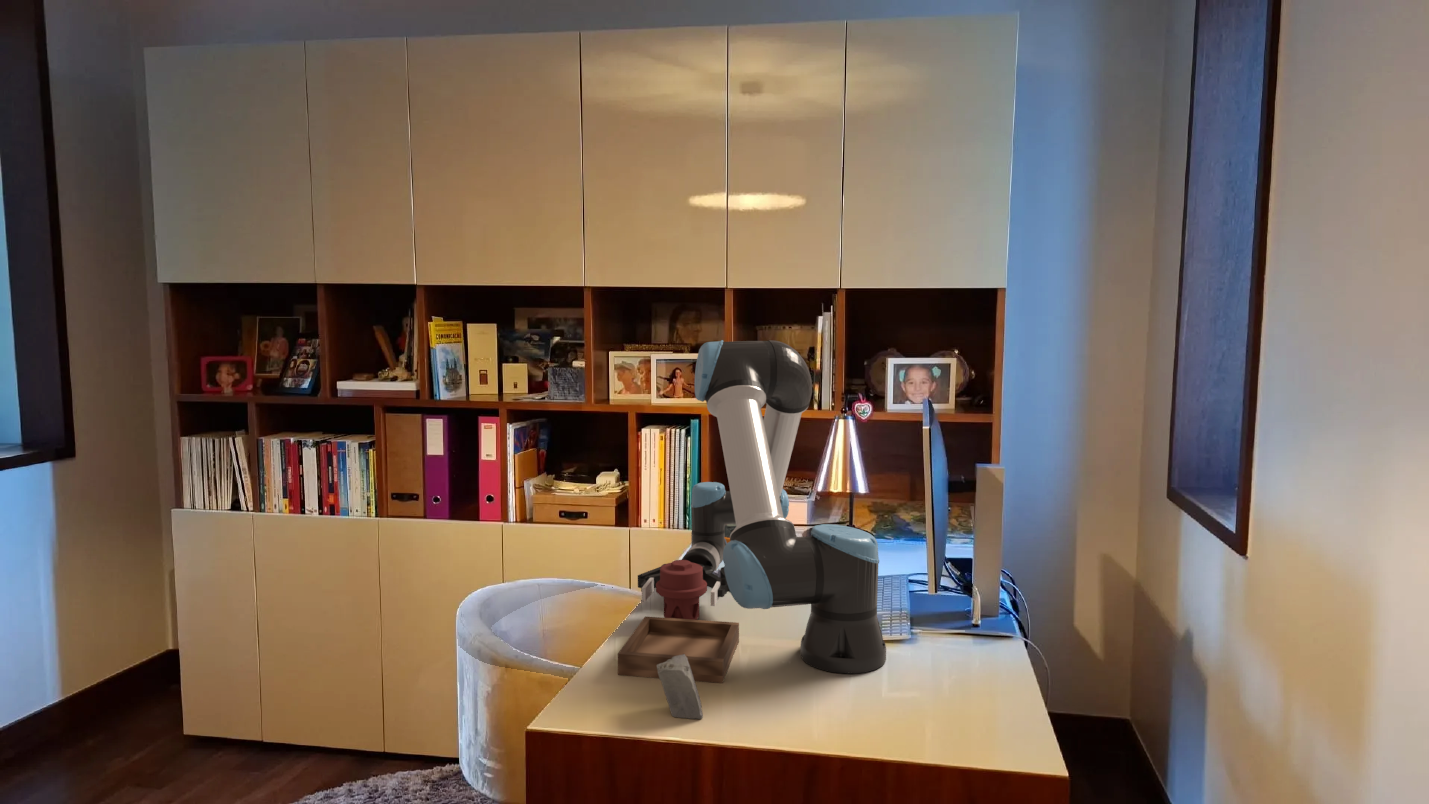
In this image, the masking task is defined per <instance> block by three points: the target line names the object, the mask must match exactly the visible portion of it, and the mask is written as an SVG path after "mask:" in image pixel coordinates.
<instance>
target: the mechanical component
mask: <svg viewBox="0 0 1429 804" xmlns="http://www.w3.org/2000/svg"><path fill="white" fill-rule="evenodd" d="M664 564H665V565H663V564H662V565H663V566H662V565H661V566H660V567H661V568H660V580H659V581H658V582H657V583H656V588H655V592H656V593H657V594H658V596H661V597H662V598H663V618H676V619H691V620H699V617H700V597H701V596H704V595H705V594H706V593H707V592H708V586H707V583H706V581H705V580H703V567H702V566H701V565H699V564H696V563H692V562H690V561H688V560H682V559H677V560H676V559H675V560H674V561H671V562H668V563H664Z"/></svg>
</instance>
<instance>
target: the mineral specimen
mask: <svg viewBox="0 0 1429 804" xmlns="http://www.w3.org/2000/svg"><path fill="white" fill-rule="evenodd" d="M657 670H658V675H659V678H658V679H659V680H660V682H661V685H662V688H663V691H664V695H665V697H666V701H667V703H668V704H667V705H668V708H669V711H670V714H671V716H672V717H673V718H678V719H679V718H681V719H691V720H692V719H693V720H701V719H703V717H704V716H703V710H702V708H703V706H702V702H701V697H700V695H699V690H698V688H697V684H696V681H695V680H694V677H693V674H692V670H691V667H690V665H689V662H688V659H687V657H686V656H685V654H683V655H678V656H674V657H672V658H671V659H668V660H667V661H666V662H663V663H660V664H658V665H657Z"/></svg>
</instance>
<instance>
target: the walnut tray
mask: <svg viewBox="0 0 1429 804" xmlns="http://www.w3.org/2000/svg"><path fill="white" fill-rule="evenodd" d="M739 643H740V622H735V621H734V622H733V621H717V620H706V619H705V620H703V619H698V620H691V619H676V618H665V617H658V616H644V617H643V619H642V620H641V621H640V622H639V624H638V625H637V626H636V628H635V629H634V631H633V632H632V634H631V635H630V636H629V638H628V639H627V641H626V642H625V643H624V645H622V647H621V649H620V650H619V652H618V653H617V675H618V676H627V677H640V678H641V677H642V678H651V679H653V678H654V679H659V675H658V670H657V665H658V664H660V663H663V662H666V661H667V660H668V659H671V658H672V657H674V656H678V655H683V654H685V656H686V657H687V659H688V662H689V665H690V667H691V670H692V674H693V677H694V680H695V682H702V683H703V682H704V683H714V684H716V683H717V684H723V682H724V680H725V678H726V675H727V672H728V670H729V667H730V665H731V663H732V661H733V657H734V656H733V655H735V653H736V651H735V650H737V648H738V646H737V645H739Z"/></svg>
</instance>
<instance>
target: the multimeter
mask: <svg viewBox="0 0 1429 804" xmlns="http://www.w3.org/2000/svg"><path fill="white" fill-rule="evenodd" d="M735 528H736V524H726V525H725V539H726V542H727V543H728V542H730V534H731V533H732V531H733V530H734V529H735Z"/></svg>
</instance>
